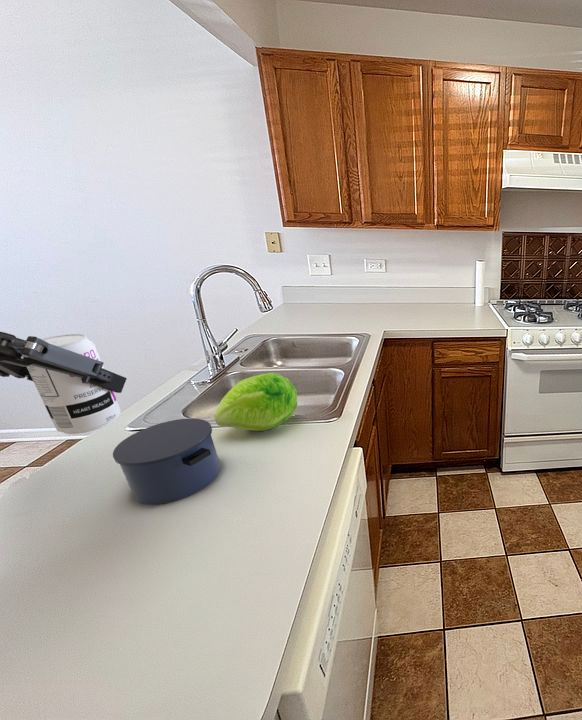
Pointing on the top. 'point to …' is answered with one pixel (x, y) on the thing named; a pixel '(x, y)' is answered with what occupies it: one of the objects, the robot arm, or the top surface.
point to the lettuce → (257, 403)
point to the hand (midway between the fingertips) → (97, 385)
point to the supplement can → (74, 392)
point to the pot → (168, 460)
